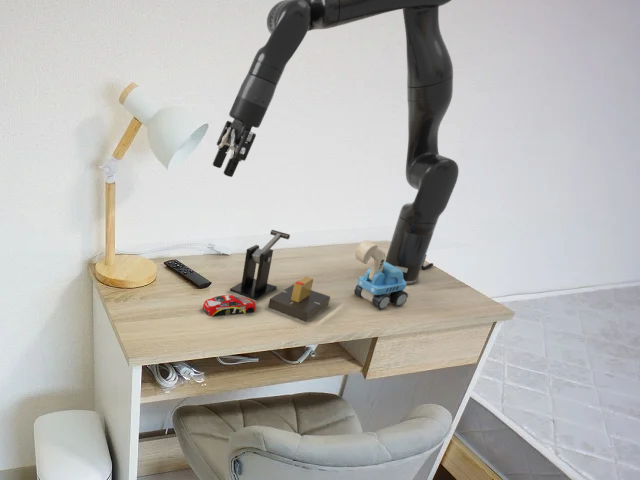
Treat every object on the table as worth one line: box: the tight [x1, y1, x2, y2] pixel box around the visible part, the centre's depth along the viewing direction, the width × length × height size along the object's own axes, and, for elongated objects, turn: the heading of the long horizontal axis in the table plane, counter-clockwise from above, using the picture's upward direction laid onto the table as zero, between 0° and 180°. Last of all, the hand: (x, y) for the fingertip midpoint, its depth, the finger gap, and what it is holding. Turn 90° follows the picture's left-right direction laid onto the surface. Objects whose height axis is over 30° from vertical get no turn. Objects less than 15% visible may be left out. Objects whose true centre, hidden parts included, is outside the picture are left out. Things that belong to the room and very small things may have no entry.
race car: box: [202, 294, 257, 317], centre depth 124 cm, size 13×5×4 cm, turn 102°
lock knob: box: [291, 275, 314, 302], centre depth 125 cm, size 6×2×5 cm, turn 136°
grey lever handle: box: [252, 229, 291, 265], centre depth 132 cm, size 12×5×2 cm, turn 136°
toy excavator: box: [353, 240, 409, 310], centre depth 126 cm, size 9×17×17 cm, turn 111°
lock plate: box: [267, 283, 331, 322], centre depth 127 cm, size 12×10×3 cm
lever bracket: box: [229, 244, 277, 302], centre depth 132 cm, size 10×8×12 cm
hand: (221, 171), depth 122 cm, fingers open, 8 cm apart
